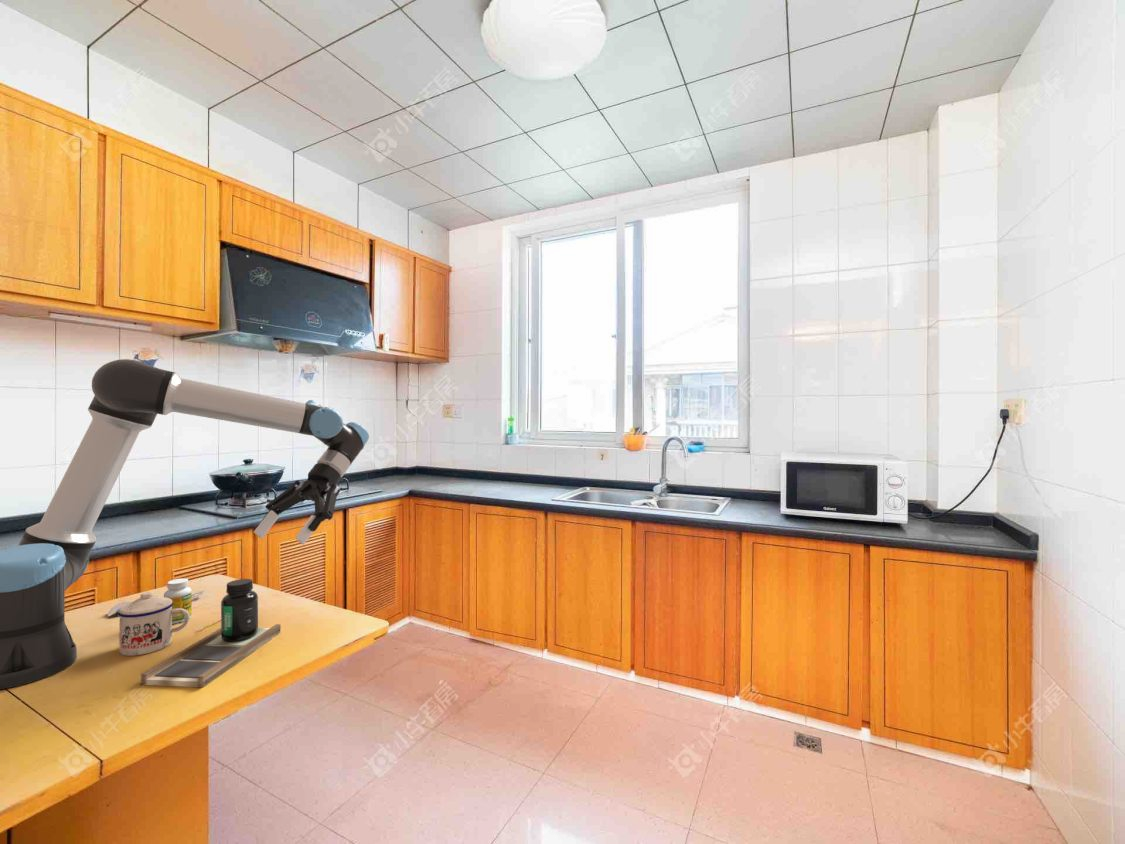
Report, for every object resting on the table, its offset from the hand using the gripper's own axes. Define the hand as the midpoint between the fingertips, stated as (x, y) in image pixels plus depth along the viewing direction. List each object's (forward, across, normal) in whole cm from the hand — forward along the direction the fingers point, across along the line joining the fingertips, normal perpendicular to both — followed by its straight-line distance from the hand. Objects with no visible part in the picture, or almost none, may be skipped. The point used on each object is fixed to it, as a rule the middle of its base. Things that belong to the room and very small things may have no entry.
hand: (278, 538), depth 120 cm
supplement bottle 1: (+20, +24, -10) cm, 32 cm away
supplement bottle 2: (+21, -1, -7) cm, 22 cm away
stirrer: (+18, +38, -13) cm, 43 cm away
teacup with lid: (+28, +14, -2) cm, 31 cm away
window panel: (+26, -3, -3) cm, 27 cm away
